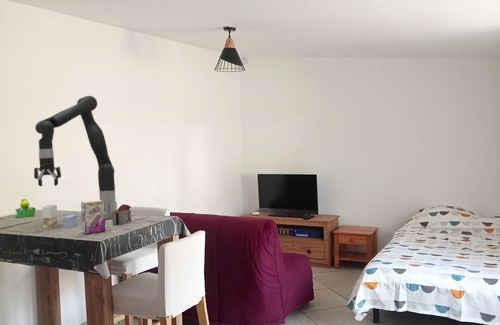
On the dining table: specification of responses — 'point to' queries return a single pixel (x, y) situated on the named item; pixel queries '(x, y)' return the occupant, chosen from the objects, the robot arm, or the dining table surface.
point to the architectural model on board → (121, 217)
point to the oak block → (50, 222)
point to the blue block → (69, 221)
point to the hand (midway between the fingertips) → (48, 185)
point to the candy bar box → (93, 216)
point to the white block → (49, 211)
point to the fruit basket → (25, 209)
